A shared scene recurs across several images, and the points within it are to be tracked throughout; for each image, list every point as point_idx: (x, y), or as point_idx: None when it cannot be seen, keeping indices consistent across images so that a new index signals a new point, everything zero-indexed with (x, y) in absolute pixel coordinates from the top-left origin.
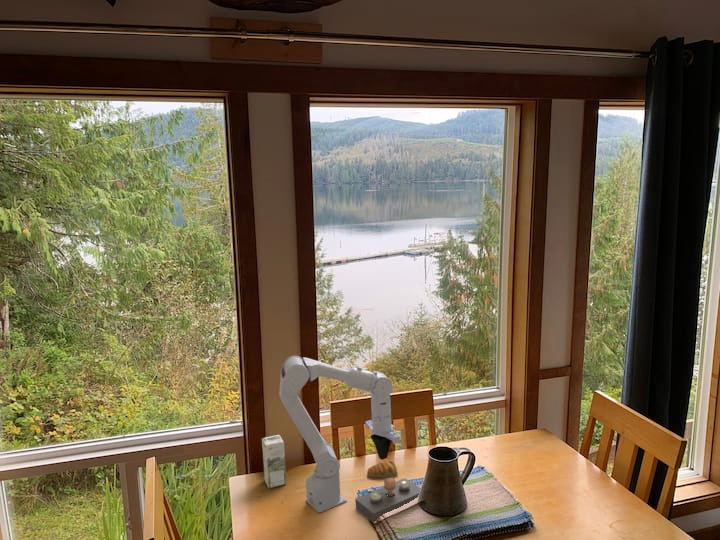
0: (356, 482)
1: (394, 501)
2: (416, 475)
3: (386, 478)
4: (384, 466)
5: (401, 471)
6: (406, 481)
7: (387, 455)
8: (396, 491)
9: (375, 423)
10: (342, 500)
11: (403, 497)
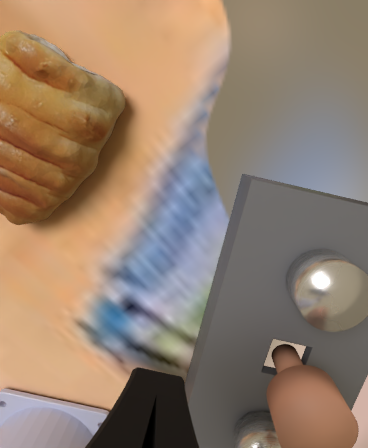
0: (22, 284)
1: (339, 390)
2: (215, 16)
3: (280, 424)
4: (51, 149)
5: (112, 39)
6: (350, 284)
7: (184, 393)
8: (294, 319)
9: None
10: (98, 425)
11: (360, 341)
